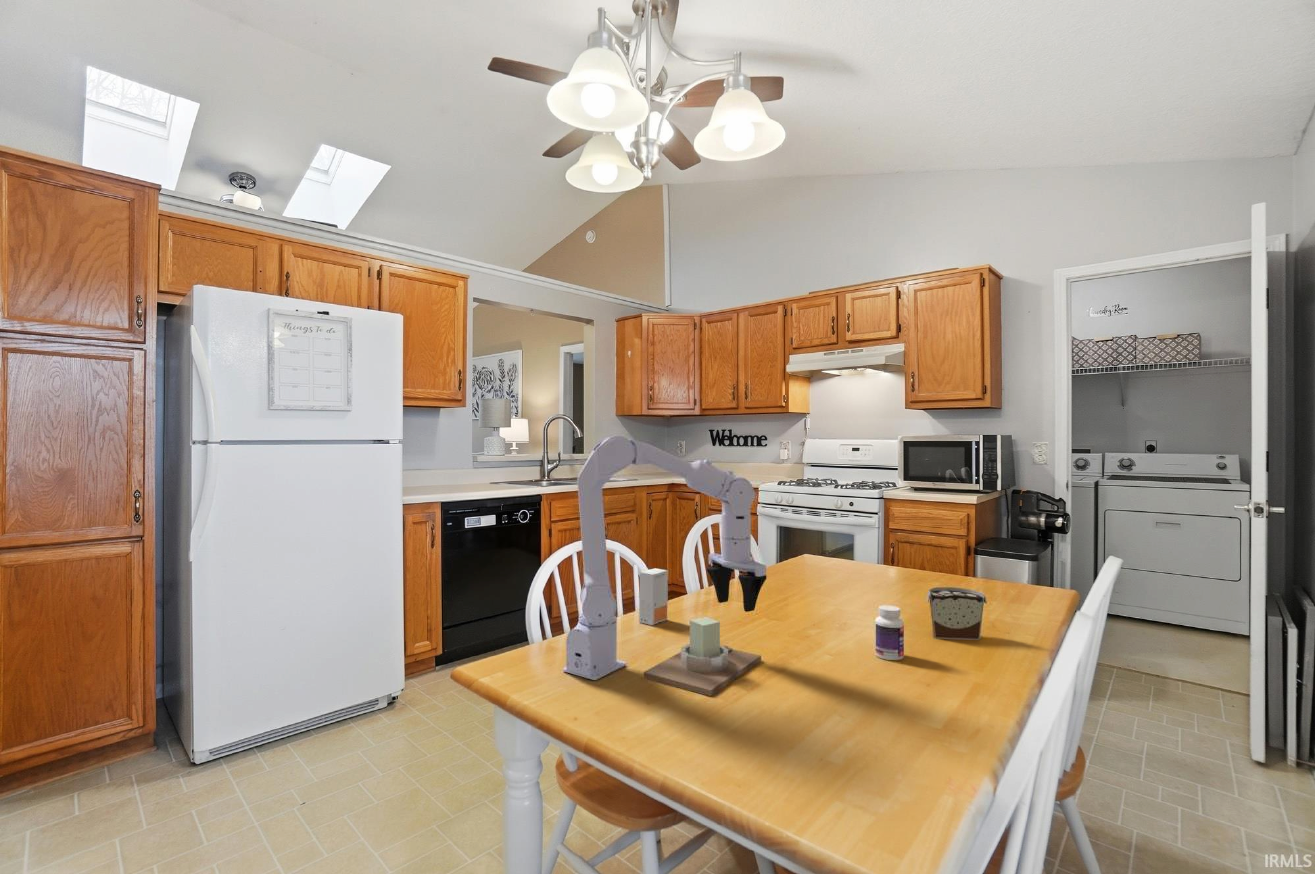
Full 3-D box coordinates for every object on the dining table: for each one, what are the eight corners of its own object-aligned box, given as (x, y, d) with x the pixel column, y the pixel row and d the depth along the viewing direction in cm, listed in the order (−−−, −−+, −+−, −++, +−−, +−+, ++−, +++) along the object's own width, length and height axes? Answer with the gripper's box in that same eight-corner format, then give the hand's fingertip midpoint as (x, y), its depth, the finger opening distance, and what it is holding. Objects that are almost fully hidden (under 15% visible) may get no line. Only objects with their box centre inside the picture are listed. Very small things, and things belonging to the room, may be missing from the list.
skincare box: (652, 626, 141) (653, 574, 141) (638, 622, 143) (638, 572, 143) (668, 620, 146) (668, 570, 146) (654, 616, 148) (654, 567, 148)
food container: (974, 631, 138) (974, 587, 138) (986, 640, 131) (986, 594, 131) (918, 629, 139) (918, 585, 139) (927, 638, 133) (927, 592, 133)
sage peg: (719, 664, 114) (719, 621, 114) (703, 669, 112) (703, 625, 112) (706, 658, 117) (706, 616, 117) (689, 662, 115) (689, 620, 115)
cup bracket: (710, 696, 102) (710, 675, 102) (643, 677, 110) (643, 658, 110) (761, 660, 119) (761, 642, 119) (699, 646, 127) (699, 629, 127)
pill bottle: (906, 662, 118) (906, 612, 118) (877, 660, 119) (877, 610, 119) (901, 652, 124) (901, 604, 124) (873, 650, 125) (873, 603, 125)
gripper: (777, 540, 116) (777, 611, 116) (726, 531, 128) (726, 595, 128) (750, 544, 112) (750, 617, 112) (700, 534, 124) (700, 600, 124)
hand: (735, 606), depth 120 cm, fingers open, 7 cm apart
